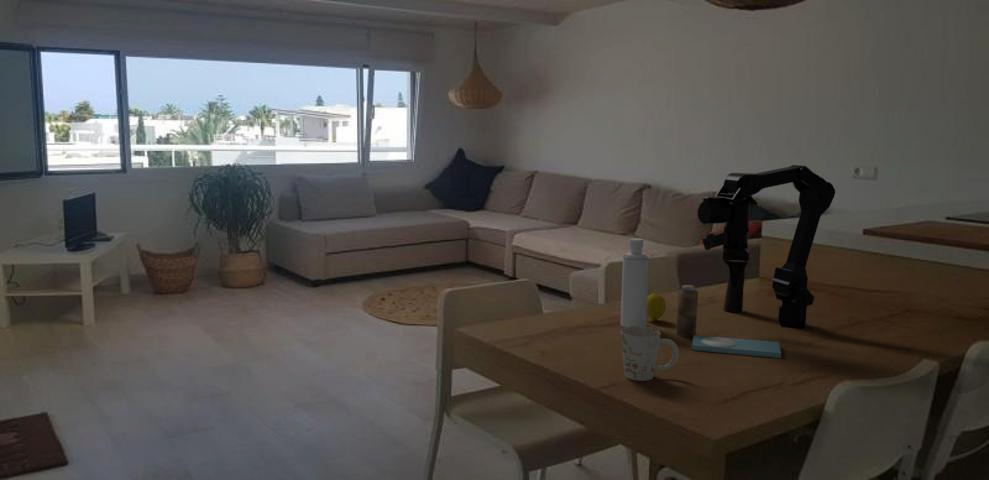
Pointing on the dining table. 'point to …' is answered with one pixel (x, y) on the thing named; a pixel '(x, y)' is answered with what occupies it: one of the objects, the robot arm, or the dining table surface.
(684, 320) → the pepper mill
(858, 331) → the dining table surface
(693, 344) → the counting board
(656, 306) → the lemon
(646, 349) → the mug
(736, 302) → the butter churn
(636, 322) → the white bottle
